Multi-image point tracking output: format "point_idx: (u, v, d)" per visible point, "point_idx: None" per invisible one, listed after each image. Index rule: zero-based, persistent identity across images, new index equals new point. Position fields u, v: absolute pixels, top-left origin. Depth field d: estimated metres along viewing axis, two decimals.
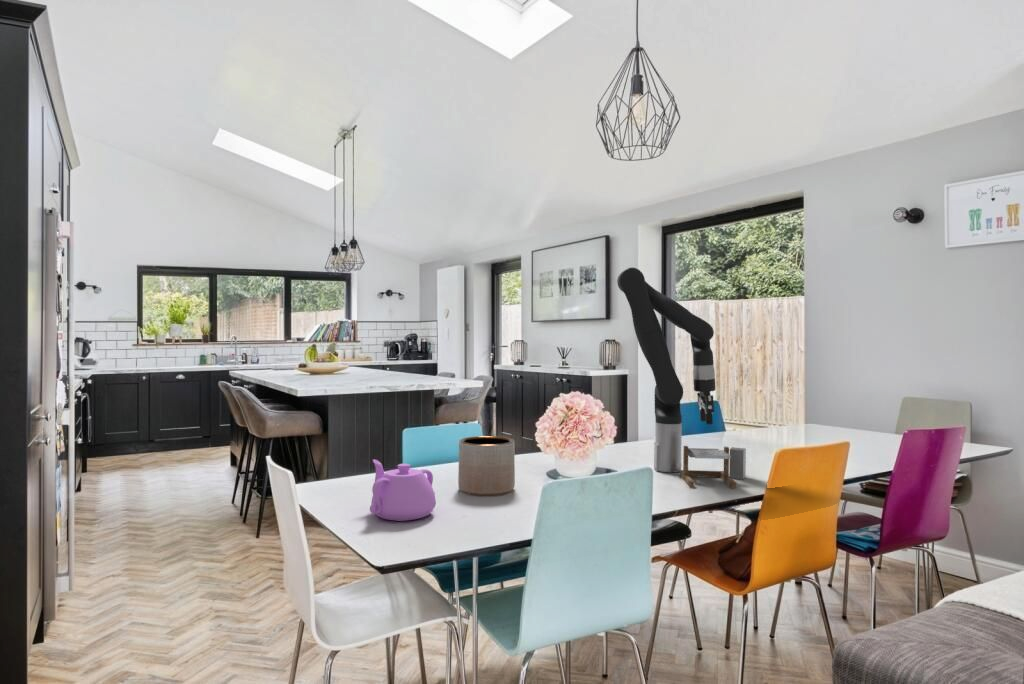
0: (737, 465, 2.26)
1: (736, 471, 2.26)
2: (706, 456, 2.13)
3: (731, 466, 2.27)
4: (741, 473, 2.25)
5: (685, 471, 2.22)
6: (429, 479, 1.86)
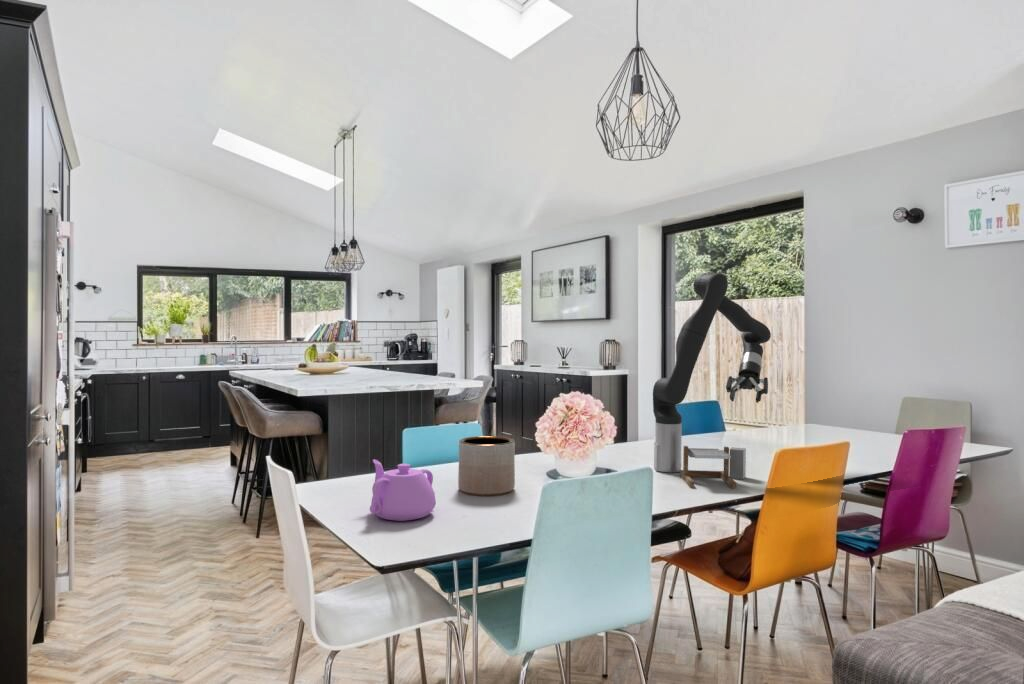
0: (737, 465, 2.26)
1: (736, 471, 2.26)
2: (706, 456, 2.13)
3: (731, 466, 2.27)
4: (741, 473, 2.25)
5: (685, 471, 2.22)
6: (429, 479, 1.86)
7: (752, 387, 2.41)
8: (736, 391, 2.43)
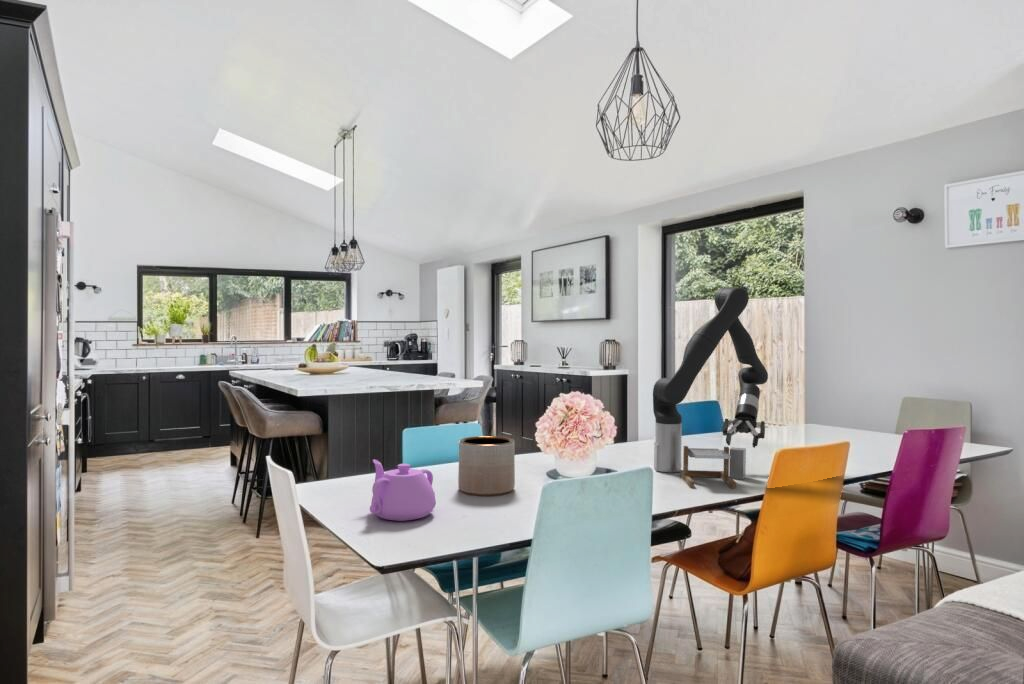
0: (737, 465, 2.26)
1: (736, 471, 2.26)
2: (706, 456, 2.13)
3: (731, 466, 2.27)
4: (741, 473, 2.25)
5: (685, 471, 2.22)
6: (429, 479, 1.86)
7: (749, 431, 2.36)
8: (732, 434, 2.39)
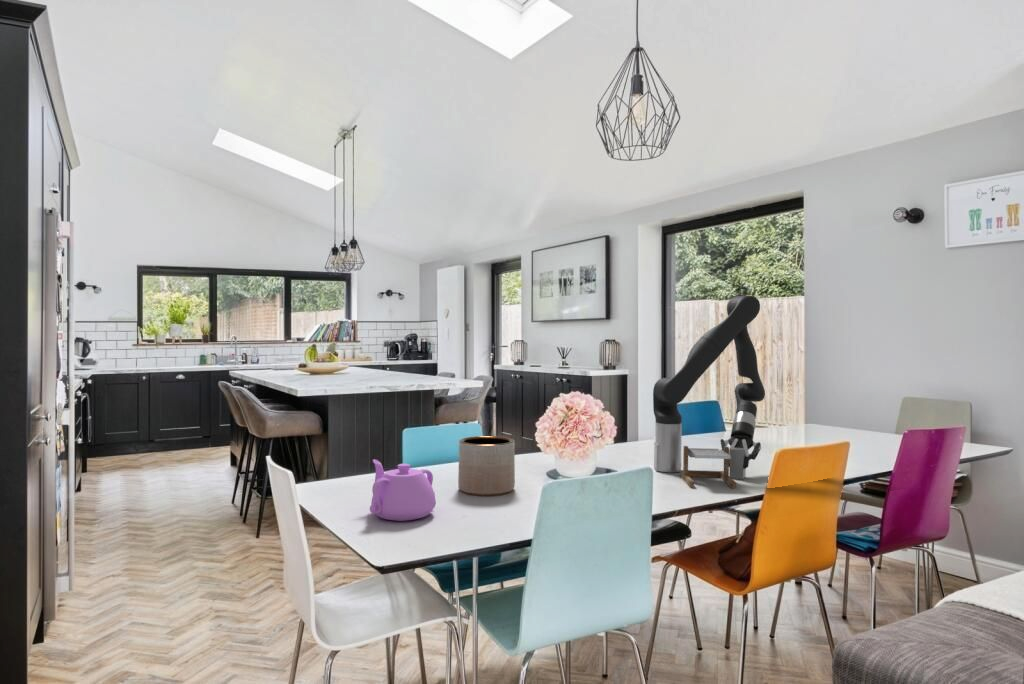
0: (737, 465, 2.26)
1: (736, 471, 2.26)
2: (706, 456, 2.13)
3: (731, 466, 2.27)
4: (741, 473, 2.25)
5: (685, 471, 2.22)
6: (429, 479, 1.86)
7: None
8: None
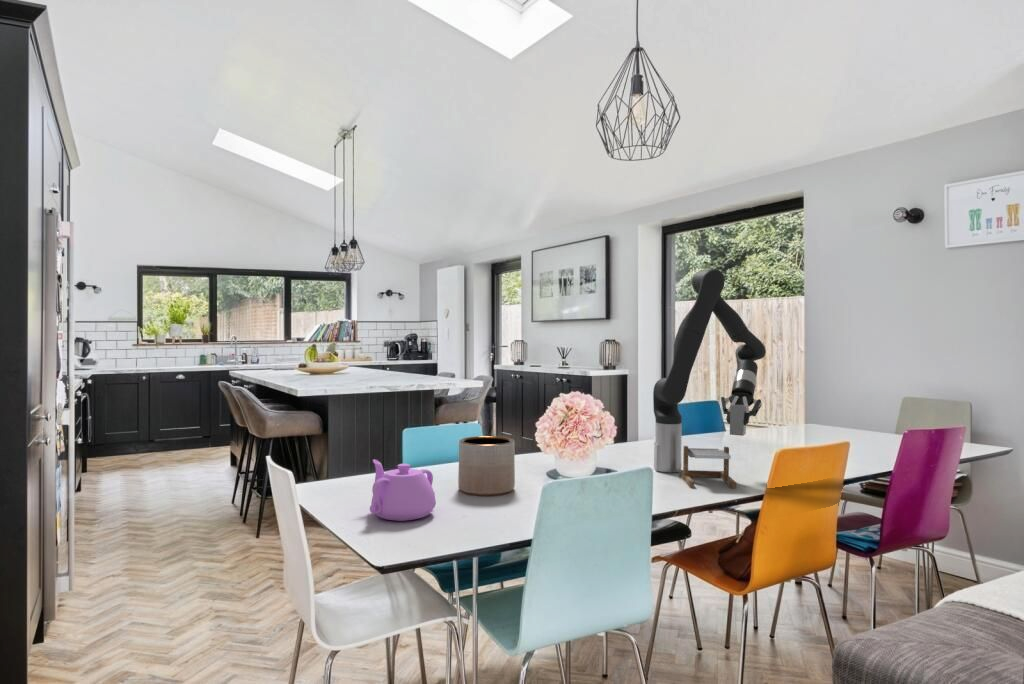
0: (738, 421, 2.26)
1: (736, 427, 2.26)
2: (706, 456, 2.13)
3: (731, 422, 2.27)
4: (741, 429, 2.25)
5: (685, 471, 2.22)
6: (429, 479, 1.86)
7: None
8: None
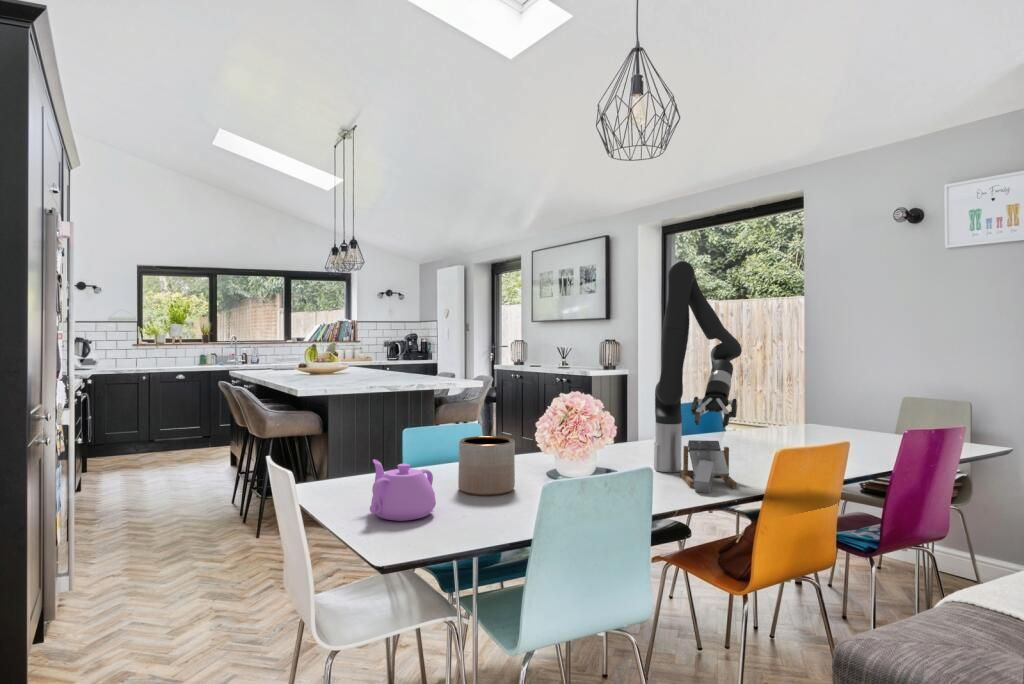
0: None
1: None
2: None
3: None
4: None
5: (685, 471, 2.22)
6: (429, 479, 1.86)
7: (719, 409, 2.17)
8: (702, 413, 2.19)
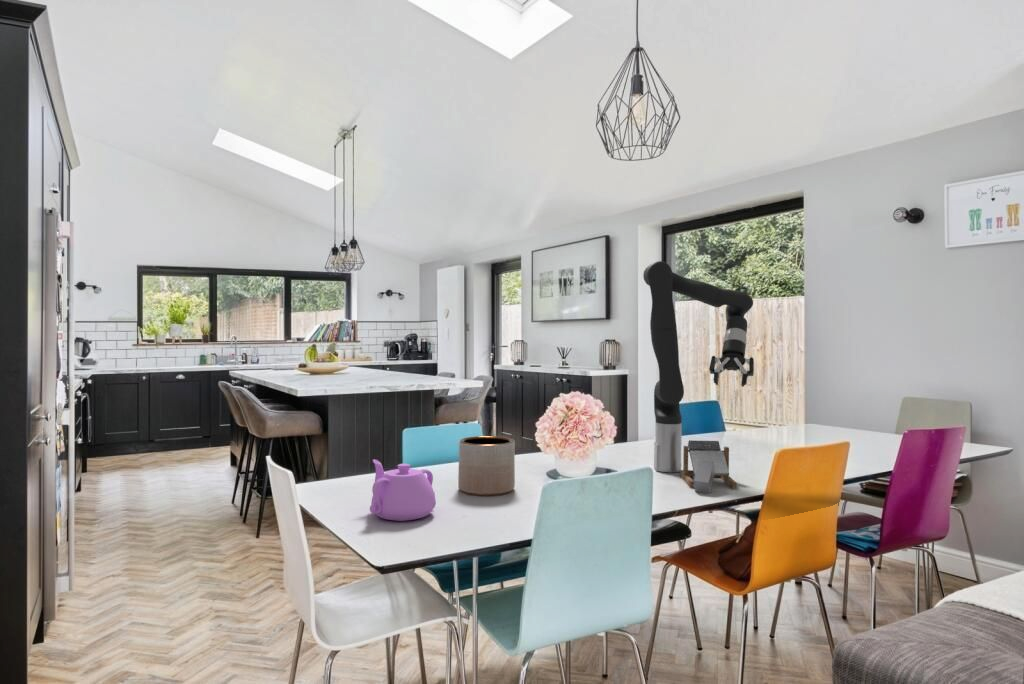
0: None
1: None
2: None
3: None
4: None
5: (685, 471, 2.22)
6: (429, 479, 1.86)
7: (737, 368, 2.25)
8: (720, 372, 2.28)
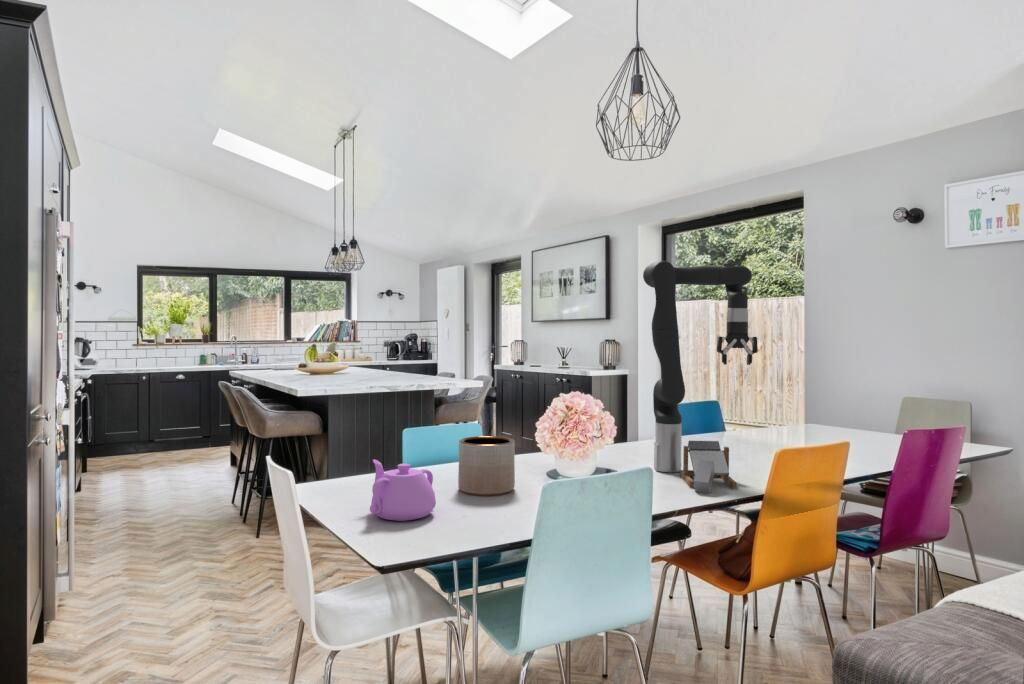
0: None
1: None
2: None
3: None
4: None
5: (685, 471, 2.22)
6: (429, 479, 1.86)
7: None
8: None
